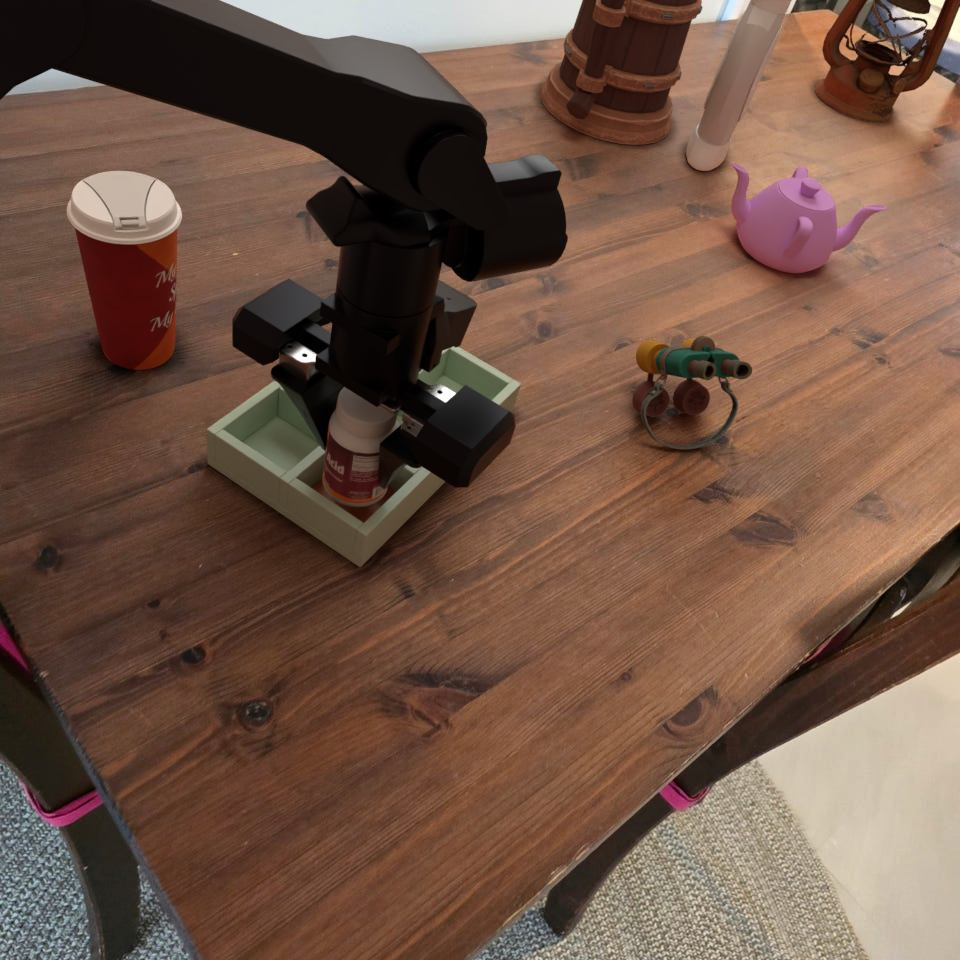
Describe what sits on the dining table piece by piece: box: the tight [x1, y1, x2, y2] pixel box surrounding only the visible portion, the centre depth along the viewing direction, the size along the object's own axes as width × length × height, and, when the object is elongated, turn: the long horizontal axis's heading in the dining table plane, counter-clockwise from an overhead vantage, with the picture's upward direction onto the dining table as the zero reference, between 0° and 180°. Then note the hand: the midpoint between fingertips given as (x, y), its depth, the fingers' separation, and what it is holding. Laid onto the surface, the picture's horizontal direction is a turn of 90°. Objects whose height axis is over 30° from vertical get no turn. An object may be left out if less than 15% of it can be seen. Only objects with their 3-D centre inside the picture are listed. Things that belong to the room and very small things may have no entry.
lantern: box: [814, 0, 960, 124], centre depth 130 cm, size 17×13×30 cm
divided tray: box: [206, 346, 522, 568], centre depth 70 cm, size 14×21×4 cm
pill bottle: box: [322, 387, 399, 507], centre depth 61 cm, size 5×5×8 cm
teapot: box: [730, 162, 888, 274], centre depth 101 cm, size 12×14×9 cm
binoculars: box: [631, 335, 753, 450], centre depth 76 cm, size 9×9×10 cm
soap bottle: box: [685, 0, 793, 172], centre depth 108 cm, size 13×8×24 cm, turn 157°
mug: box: [539, 0, 703, 146], centre depth 111 cm, size 18×23×20 cm
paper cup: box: [66, 170, 183, 371], centre depth 68 cm, size 8×8×14 cm
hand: (357, 465), depth 63 cm, fingers closed on pill bottle, 5 cm apart
